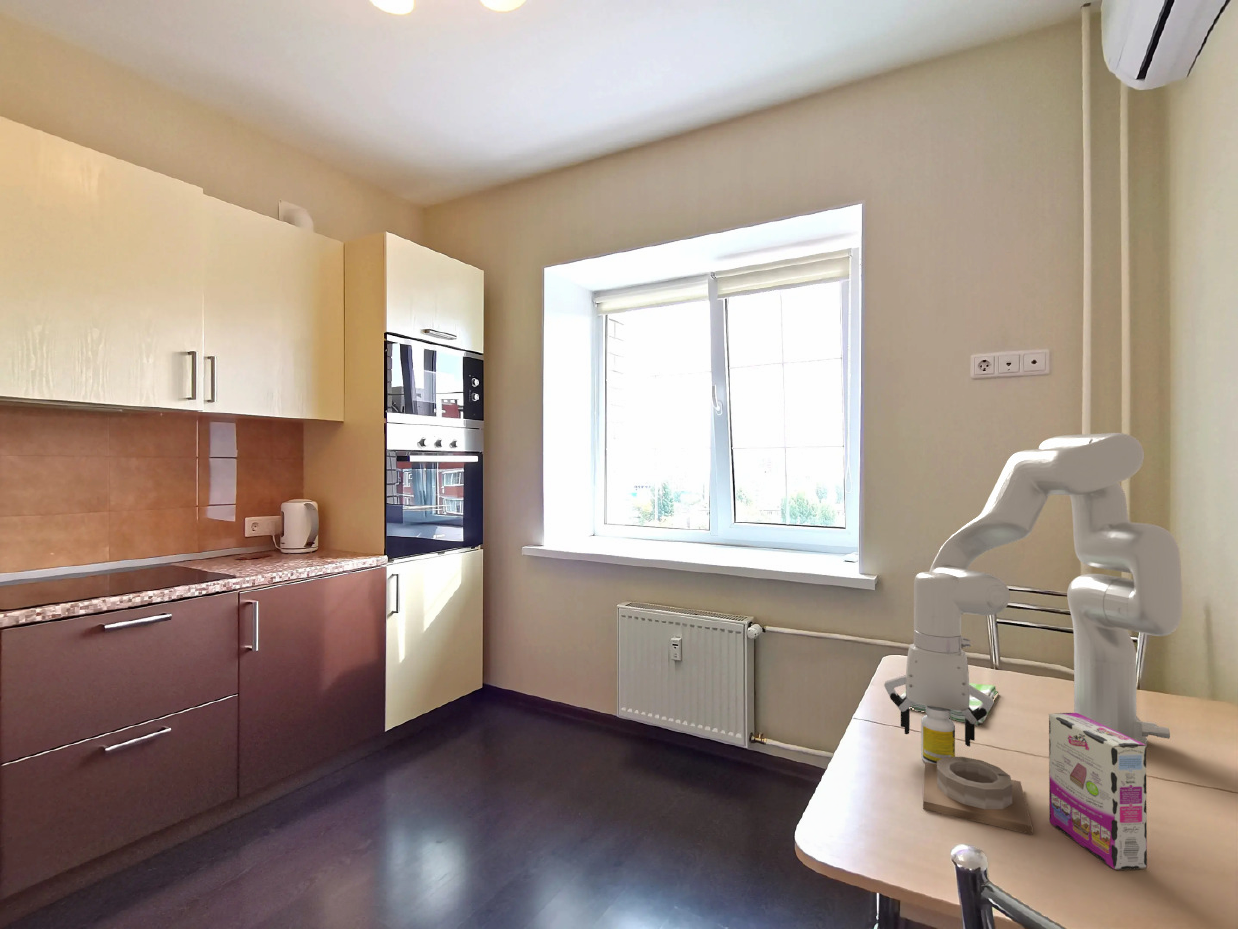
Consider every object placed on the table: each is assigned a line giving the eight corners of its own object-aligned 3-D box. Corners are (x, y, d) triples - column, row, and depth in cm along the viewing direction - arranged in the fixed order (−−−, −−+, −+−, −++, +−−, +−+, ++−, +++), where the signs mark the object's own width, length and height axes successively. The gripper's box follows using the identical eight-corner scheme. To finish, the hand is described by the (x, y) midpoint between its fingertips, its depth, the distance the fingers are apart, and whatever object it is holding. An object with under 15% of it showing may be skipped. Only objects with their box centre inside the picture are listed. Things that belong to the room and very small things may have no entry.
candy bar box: (1150, 870, 79) (1149, 744, 79) (1115, 872, 78) (1114, 746, 79) (1078, 820, 90) (1077, 710, 90) (1047, 822, 90) (1046, 711, 90)
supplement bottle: (959, 770, 105) (959, 714, 105) (926, 767, 106) (925, 712, 106) (949, 756, 110) (949, 702, 110) (917, 753, 111) (917, 700, 111)
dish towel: (893, 708, 133) (893, 692, 133) (920, 680, 151) (920, 666, 151) (982, 730, 122) (982, 712, 122) (1000, 697, 140) (1000, 681, 140)
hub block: (1020, 788, 99) (1020, 763, 99) (1032, 834, 86) (1032, 805, 86) (925, 768, 105) (925, 744, 105) (923, 808, 93) (923, 781, 93)
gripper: (991, 643, 107) (991, 739, 107) (886, 630, 115) (885, 720, 115) (995, 655, 101) (995, 757, 101) (883, 640, 109) (882, 735, 109)
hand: (936, 737), depth 108 cm, fingers open, 9 cm apart
